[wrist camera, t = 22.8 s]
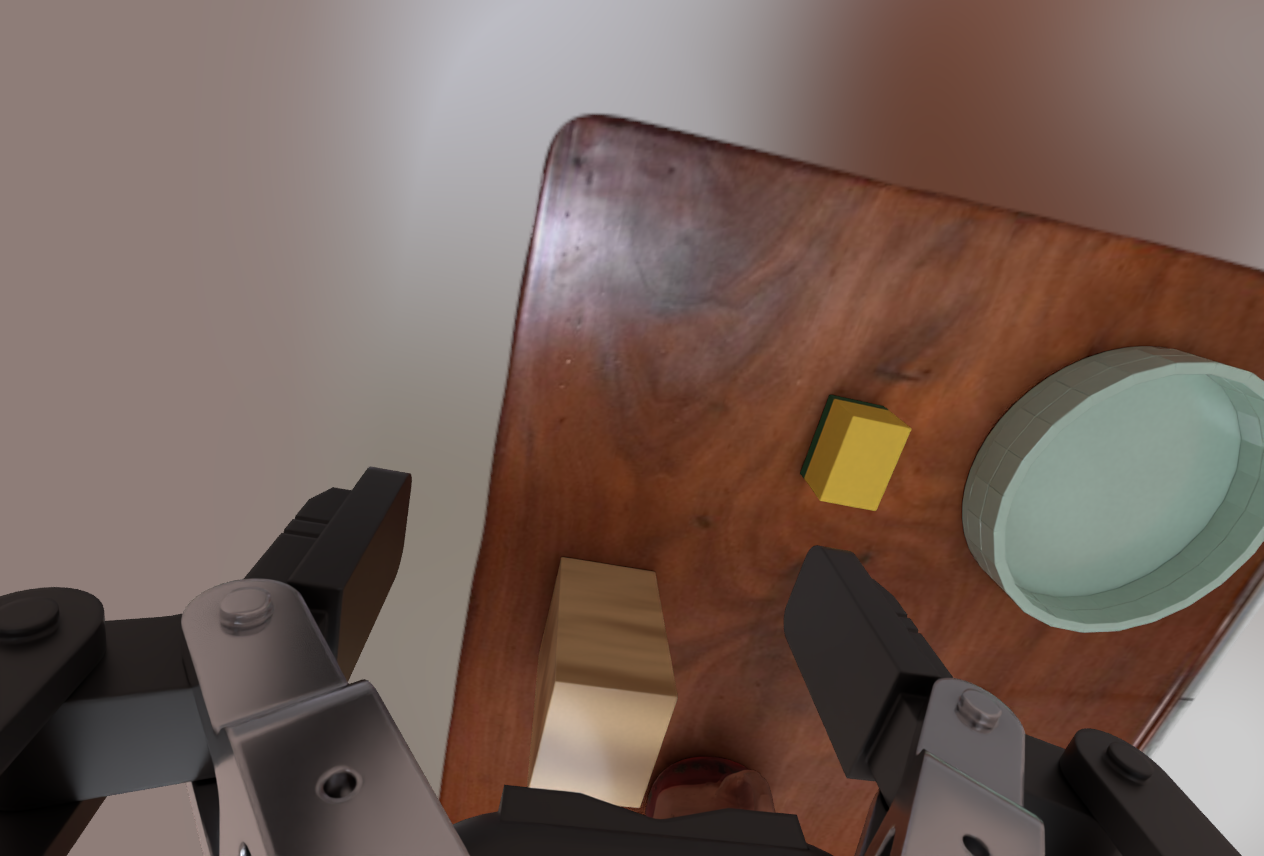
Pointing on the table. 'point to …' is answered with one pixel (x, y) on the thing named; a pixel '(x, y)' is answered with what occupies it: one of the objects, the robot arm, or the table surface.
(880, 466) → the sponge
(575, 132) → the table surface
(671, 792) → the decorative planter
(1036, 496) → the bowl
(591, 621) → the sponge stand
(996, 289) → the table surface
